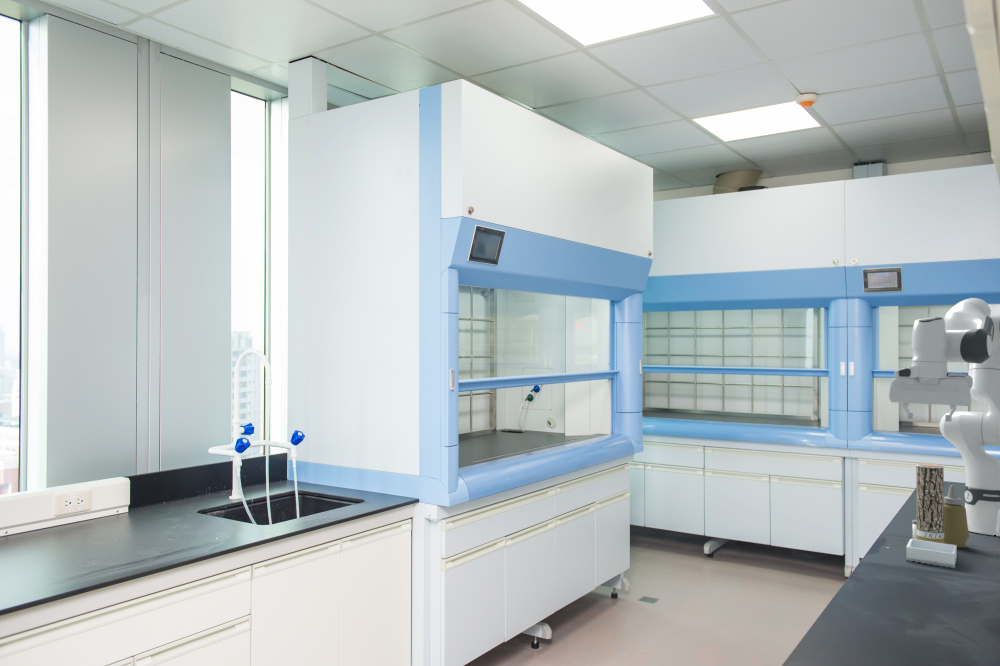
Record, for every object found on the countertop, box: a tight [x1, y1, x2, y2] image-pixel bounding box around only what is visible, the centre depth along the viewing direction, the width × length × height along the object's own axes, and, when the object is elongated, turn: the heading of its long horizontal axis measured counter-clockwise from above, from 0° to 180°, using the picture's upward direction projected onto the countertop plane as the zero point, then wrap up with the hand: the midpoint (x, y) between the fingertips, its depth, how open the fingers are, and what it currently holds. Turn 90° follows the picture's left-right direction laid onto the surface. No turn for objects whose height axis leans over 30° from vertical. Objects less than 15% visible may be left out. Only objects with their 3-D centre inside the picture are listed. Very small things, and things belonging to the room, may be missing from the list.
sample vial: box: [911, 519, 917, 540], centre depth 212 cm, size 3×3×6 cm
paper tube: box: [915, 462, 945, 543], centre depth 202 cm, size 7×7×25 cm
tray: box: [905, 538, 958, 569], centre depth 191 cm, size 11×11×4 cm
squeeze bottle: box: [944, 485, 970, 549], centre depth 207 cm, size 8×8×18 cm
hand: (929, 420), depth 198 cm, fingers open, 8 cm apart
